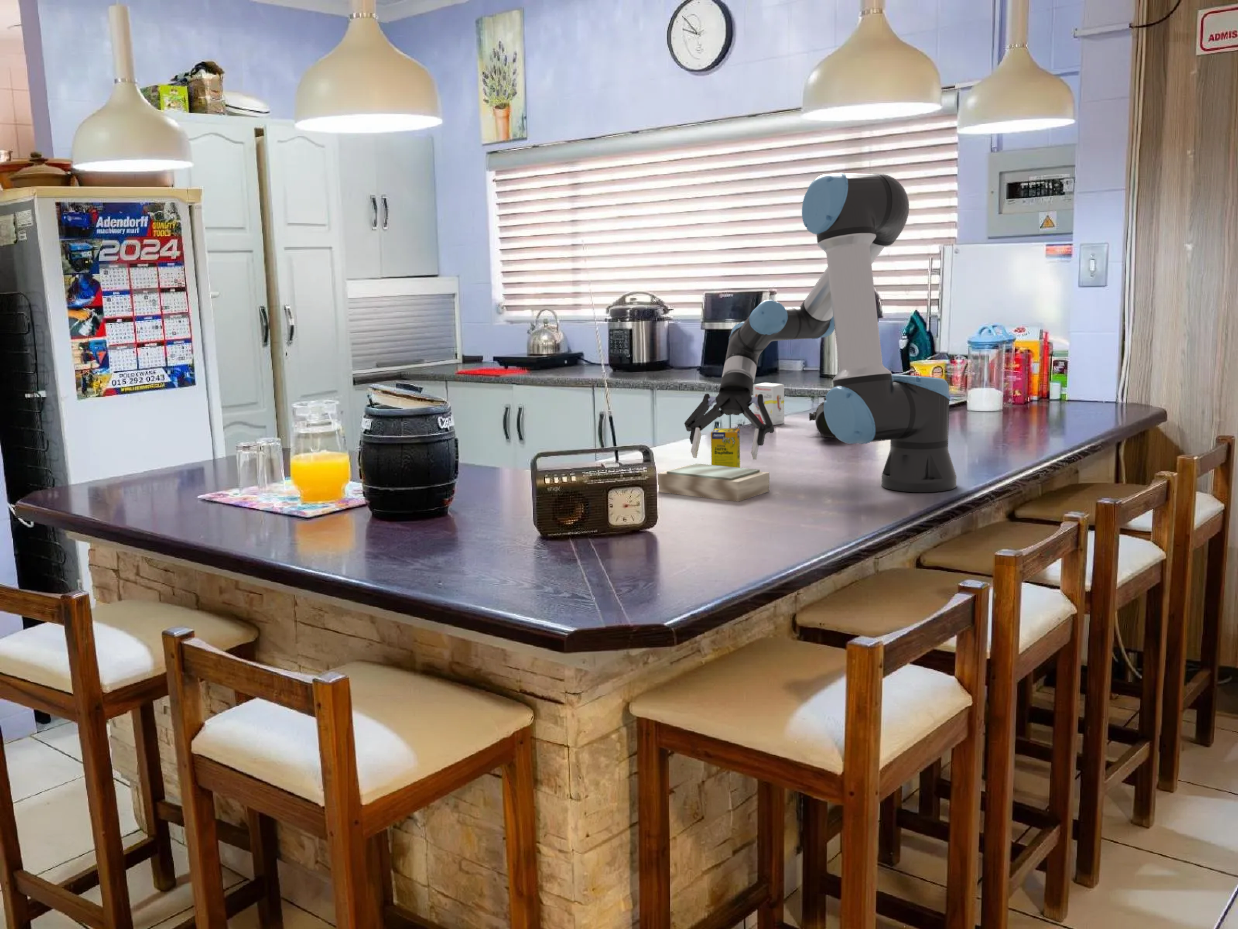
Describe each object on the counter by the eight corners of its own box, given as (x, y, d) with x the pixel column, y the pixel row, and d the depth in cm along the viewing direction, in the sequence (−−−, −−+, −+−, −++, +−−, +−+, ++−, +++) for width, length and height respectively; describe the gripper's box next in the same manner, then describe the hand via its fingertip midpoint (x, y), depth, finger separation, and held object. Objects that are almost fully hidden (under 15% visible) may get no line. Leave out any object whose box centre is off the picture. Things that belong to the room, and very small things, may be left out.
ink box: (752, 423, 336) (752, 383, 334) (764, 421, 339) (763, 382, 337) (773, 425, 330) (773, 385, 328) (785, 423, 333) (784, 384, 331)
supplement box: (738, 481, 245) (737, 431, 244) (711, 480, 247) (710, 431, 245) (740, 476, 251) (740, 427, 249) (714, 476, 252) (713, 428, 251)
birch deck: (769, 491, 233) (769, 470, 232) (738, 501, 224) (737, 479, 223) (690, 482, 245) (690, 462, 245) (658, 491, 236) (657, 471, 235)
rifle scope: (845, 427, 320) (845, 393, 318) (851, 441, 294) (851, 404, 293) (808, 428, 321) (807, 393, 320) (810, 442, 296) (810, 404, 294)
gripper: (793, 390, 257) (781, 466, 246) (689, 390, 265) (672, 463, 254) (789, 370, 252) (776, 446, 240) (682, 370, 260) (665, 444, 248)
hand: (723, 455), depth 247 cm, fingers open, 13 cm apart
